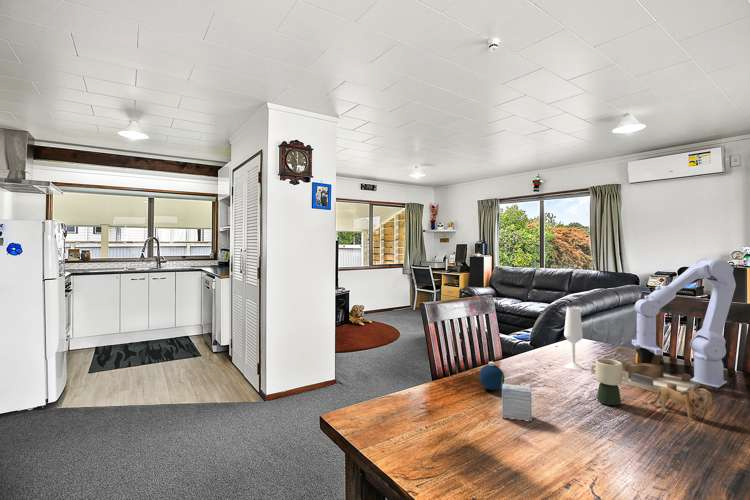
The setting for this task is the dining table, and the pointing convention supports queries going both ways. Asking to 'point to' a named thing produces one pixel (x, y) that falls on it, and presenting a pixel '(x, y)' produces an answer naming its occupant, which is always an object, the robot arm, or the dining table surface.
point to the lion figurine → (685, 399)
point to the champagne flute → (573, 332)
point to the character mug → (609, 380)
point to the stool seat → (662, 382)
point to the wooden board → (644, 369)
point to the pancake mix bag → (657, 357)
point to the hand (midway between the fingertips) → (646, 369)
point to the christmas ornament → (491, 376)
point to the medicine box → (517, 402)
